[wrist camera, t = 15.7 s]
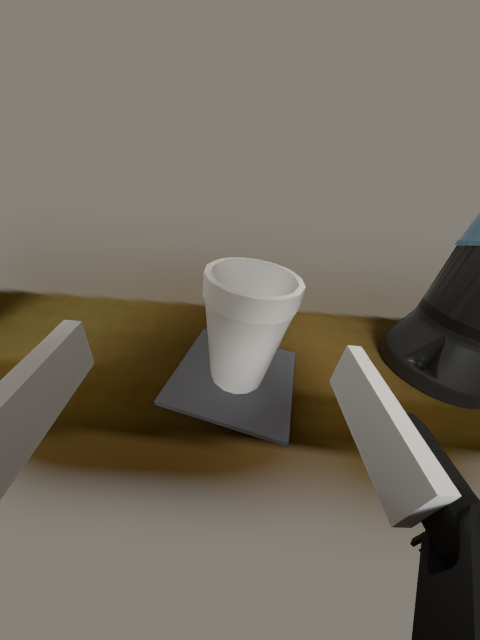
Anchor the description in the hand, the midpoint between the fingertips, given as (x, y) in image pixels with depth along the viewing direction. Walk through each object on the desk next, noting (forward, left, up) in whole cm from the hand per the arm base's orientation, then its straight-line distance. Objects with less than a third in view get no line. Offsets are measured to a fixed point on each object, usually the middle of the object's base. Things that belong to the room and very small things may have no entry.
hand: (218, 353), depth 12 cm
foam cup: (0, -12, -13) cm, 18 cm away
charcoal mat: (0, -12, -14) cm, 18 cm away
